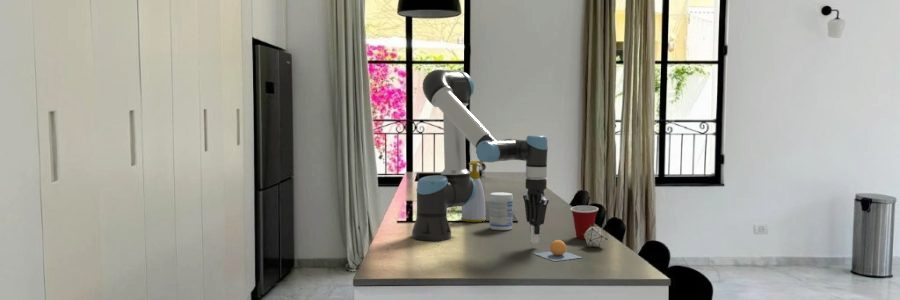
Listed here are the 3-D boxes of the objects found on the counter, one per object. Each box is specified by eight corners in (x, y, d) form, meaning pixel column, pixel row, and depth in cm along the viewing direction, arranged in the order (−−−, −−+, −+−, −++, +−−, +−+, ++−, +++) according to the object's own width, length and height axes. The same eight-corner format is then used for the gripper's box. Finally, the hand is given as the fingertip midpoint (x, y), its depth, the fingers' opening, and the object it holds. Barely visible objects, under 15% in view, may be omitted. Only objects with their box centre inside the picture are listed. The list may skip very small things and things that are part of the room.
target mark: (533, 254, 237) (533, 253, 237) (561, 250, 242) (561, 250, 242) (553, 261, 226) (553, 260, 226) (582, 258, 232) (582, 257, 232)
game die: (594, 258, 247) (588, 239, 242) (580, 245, 254) (575, 227, 248) (614, 245, 249) (609, 226, 243) (600, 233, 256) (594, 214, 250)
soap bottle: (491, 219, 302) (492, 161, 300) (478, 223, 292) (479, 163, 290) (469, 217, 308) (470, 159, 306) (456, 220, 298) (456, 161, 296)
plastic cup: (564, 237, 265) (564, 207, 264) (579, 233, 273) (579, 204, 272) (588, 242, 258) (589, 210, 257) (602, 238, 266) (603, 207, 265)
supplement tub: (512, 231, 277) (513, 195, 276) (489, 230, 277) (489, 195, 276) (511, 226, 286) (512, 192, 285) (489, 226, 287) (490, 191, 286)
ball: (548, 257, 235) (545, 242, 236) (561, 256, 237) (558, 240, 239) (557, 255, 230) (554, 239, 231) (570, 253, 232) (567, 238, 234)
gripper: (555, 179, 240) (553, 245, 242) (534, 175, 252) (532, 238, 254) (538, 180, 237) (536, 247, 239) (517, 176, 249) (516, 240, 250)
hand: (534, 242), depth 246 cm, fingers closed
